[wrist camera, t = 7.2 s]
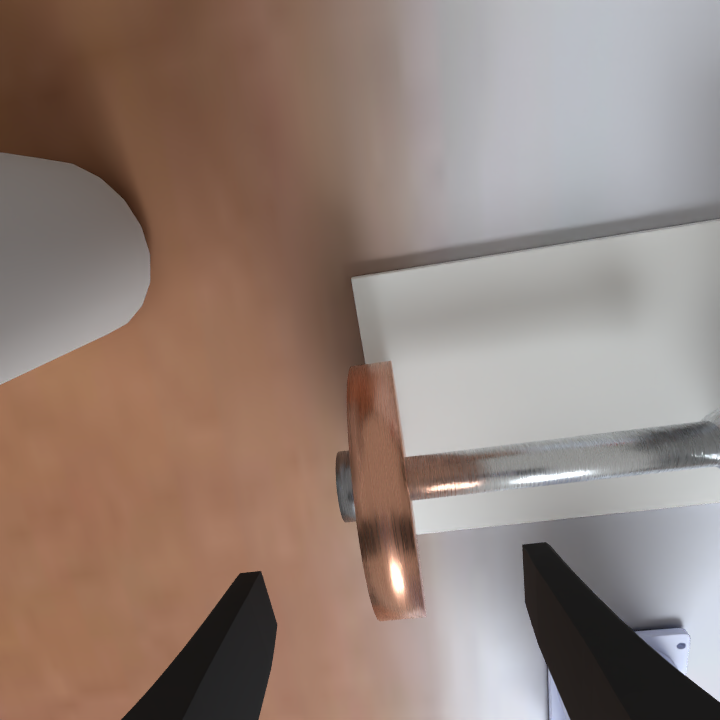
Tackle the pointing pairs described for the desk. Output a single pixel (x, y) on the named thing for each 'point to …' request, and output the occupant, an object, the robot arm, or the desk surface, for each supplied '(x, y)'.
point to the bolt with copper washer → (472, 477)
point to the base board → (553, 362)
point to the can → (63, 261)
